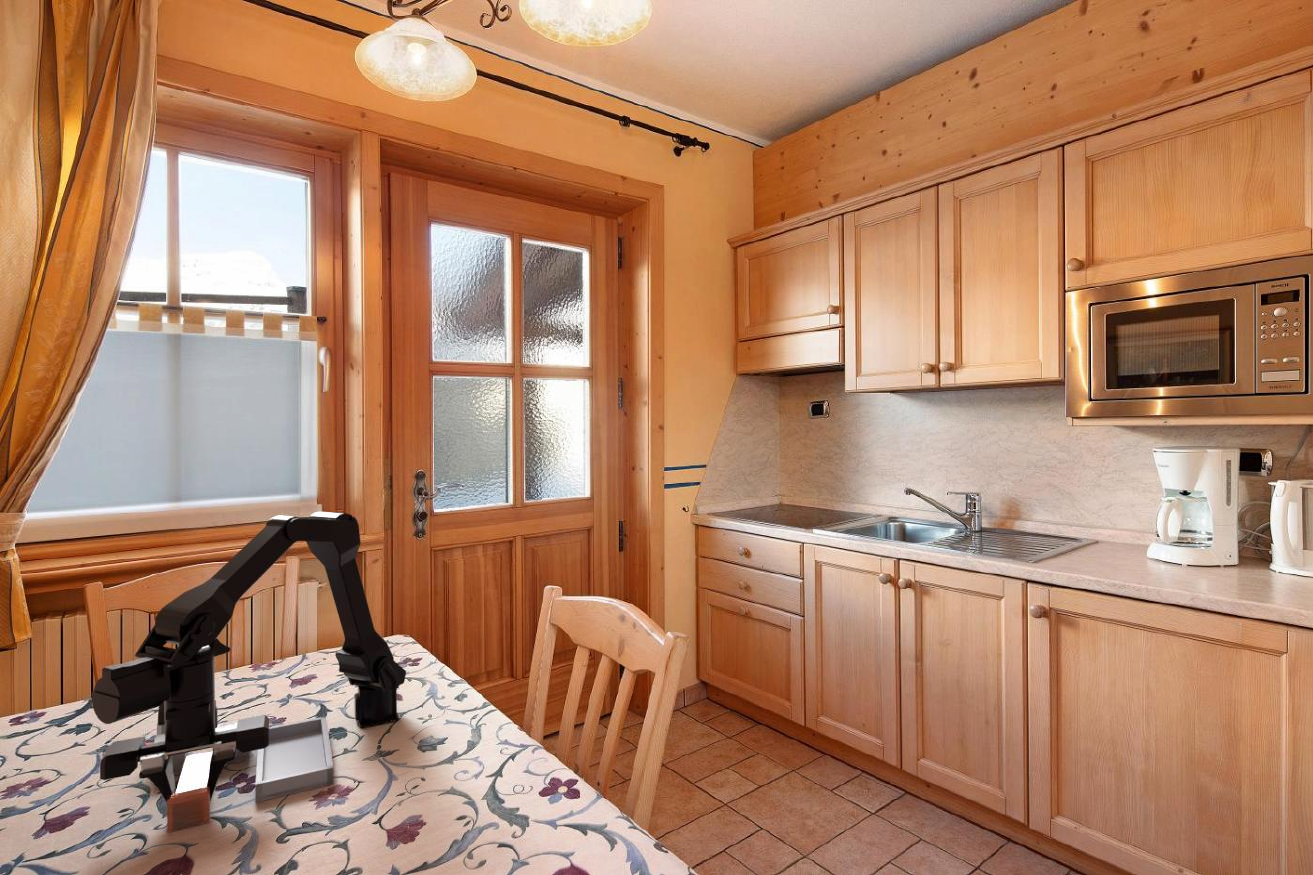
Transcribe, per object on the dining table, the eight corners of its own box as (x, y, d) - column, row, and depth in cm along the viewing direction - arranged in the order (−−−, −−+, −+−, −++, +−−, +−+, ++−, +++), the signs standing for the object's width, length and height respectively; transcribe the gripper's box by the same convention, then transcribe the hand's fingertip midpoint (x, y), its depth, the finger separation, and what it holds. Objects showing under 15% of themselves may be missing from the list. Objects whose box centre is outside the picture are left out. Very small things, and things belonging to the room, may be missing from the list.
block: (250, 749, 112) (250, 717, 112) (249, 759, 109) (249, 727, 108) (157, 767, 106) (156, 734, 106) (153, 779, 103) (152, 745, 102)
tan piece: (182, 779, 103) (182, 752, 102) (218, 772, 105) (218, 745, 105) (167, 832, 89) (166, 800, 89) (209, 822, 92) (208, 791, 92)
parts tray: (326, 730, 119) (325, 716, 119) (333, 783, 101) (333, 767, 101) (259, 743, 114) (259, 728, 114) (255, 802, 96) (255, 784, 96)
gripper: (269, 664, 105) (270, 764, 105) (117, 686, 96) (118, 796, 96) (267, 689, 95) (269, 799, 95) (97, 716, 86) (100, 838, 86)
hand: (191, 806), depth 94 cm, fingers closed on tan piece, 3 cm apart
